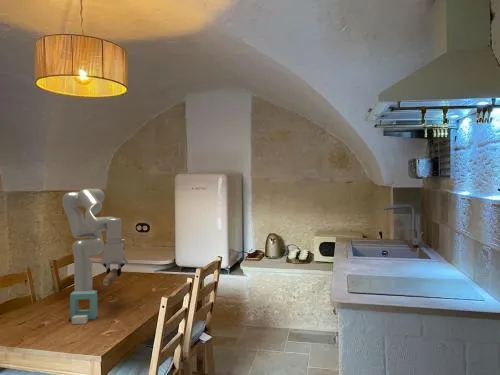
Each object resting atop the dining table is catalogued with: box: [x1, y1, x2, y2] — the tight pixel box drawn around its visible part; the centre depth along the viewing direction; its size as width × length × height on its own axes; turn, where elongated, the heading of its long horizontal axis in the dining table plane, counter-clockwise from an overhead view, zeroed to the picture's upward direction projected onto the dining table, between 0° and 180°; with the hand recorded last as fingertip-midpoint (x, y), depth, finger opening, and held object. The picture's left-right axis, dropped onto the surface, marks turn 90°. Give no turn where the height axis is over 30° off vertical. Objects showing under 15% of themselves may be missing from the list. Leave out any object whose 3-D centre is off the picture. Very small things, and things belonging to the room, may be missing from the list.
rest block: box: [71, 315, 89, 325], centre depth 183 cm, size 3×6×3 cm, turn 97°
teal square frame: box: [69, 290, 98, 321], centre depth 190 cm, size 5×11×12 cm, turn 98°
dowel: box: [101, 268, 118, 287], centre depth 202 cm, size 22×4×4 cm, turn 8°
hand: (114, 275), depth 211 cm, fingers closed on dowel, 4 cm apart
